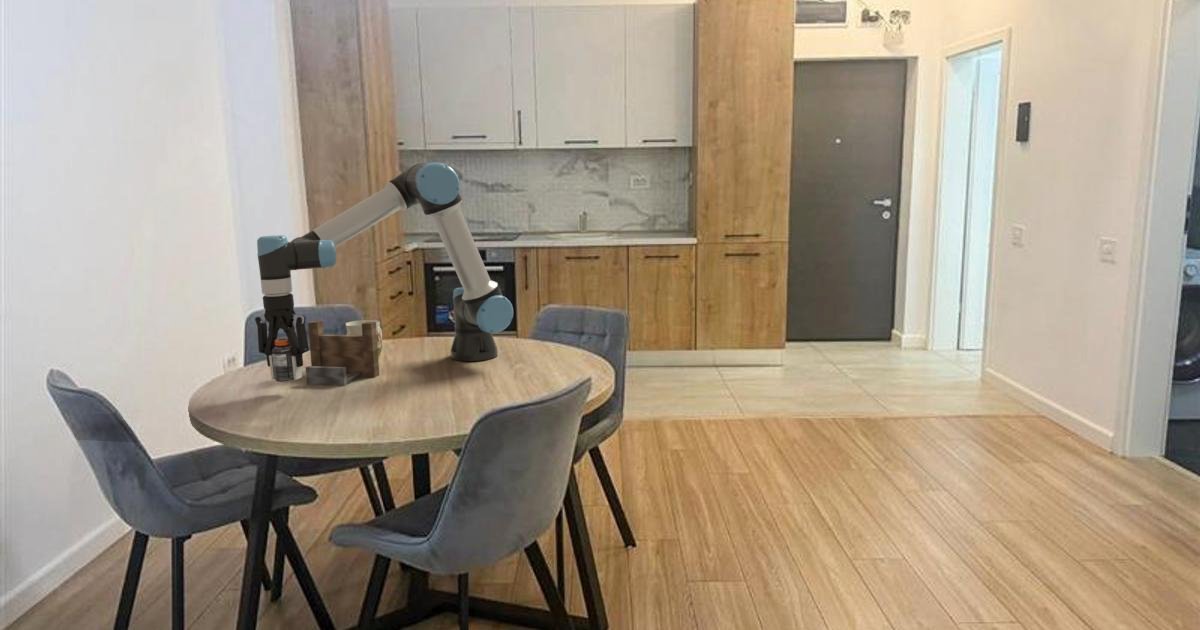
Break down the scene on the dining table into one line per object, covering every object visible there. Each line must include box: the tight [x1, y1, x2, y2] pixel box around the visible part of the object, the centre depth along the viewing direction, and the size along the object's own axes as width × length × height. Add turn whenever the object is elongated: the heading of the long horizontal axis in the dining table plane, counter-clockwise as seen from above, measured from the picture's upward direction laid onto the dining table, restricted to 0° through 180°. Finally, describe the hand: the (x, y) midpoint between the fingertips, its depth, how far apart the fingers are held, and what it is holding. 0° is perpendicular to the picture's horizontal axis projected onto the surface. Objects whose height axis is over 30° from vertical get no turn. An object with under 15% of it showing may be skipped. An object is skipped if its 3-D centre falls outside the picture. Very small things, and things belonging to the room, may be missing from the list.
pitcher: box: [344, 319, 383, 360], centre depth 246 cm, size 11×18×14 cm, turn 164°
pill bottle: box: [272, 337, 295, 383], centre depth 211 cm, size 6×6×11 cm
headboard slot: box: [305, 320, 380, 387], centre depth 226 cm, size 20×13×16 cm, turn 80°
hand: (286, 378), depth 212 cm, fingers closed on pill bottle, 6 cm apart
